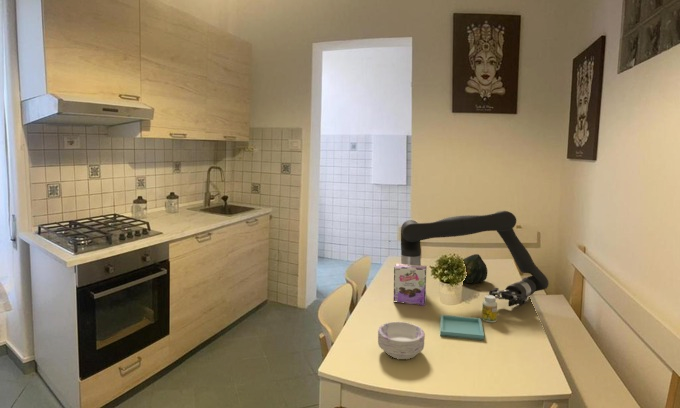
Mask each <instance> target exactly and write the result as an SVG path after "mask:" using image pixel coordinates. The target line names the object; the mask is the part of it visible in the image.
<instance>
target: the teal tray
mask: <svg viewBox="0 0 680 408" xmlns="http://www.w3.org/2000/svg"><path fill="white" fill-rule="evenodd" d="M439 326H440V330H439V331H440V332H439V336H440V337H445V338H446V337H448V338H456V339H466V340H477V341H485V333H484V328H483V323H482V317H481V318H480V317H469V316H460V315H459V316H457V315H447V314H440V325H439Z"/></svg>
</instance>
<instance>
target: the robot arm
mask: <svg viewBox="0 0 680 408" xmlns="http://www.w3.org/2000/svg"><path fill="white" fill-rule="evenodd" d="M516 224H517V218H516V216H515V215H514V214H513V213H512V212H510V211H507V210H499V211H497V212H495V213H490V214H482V215H479V214H478V215H475V214H474V215H470V214H469V215H454V216H447V217H446V218H445V217H444V218H442V219H438V220H435V221H433V222H421V223H420V222H417V221H416V220H413V219H408V220H406V221H404V222H403V223H402V225H401V227H400V255H401V256H400V264H407V265H422V264H421V263H422V261H421V260H422V249H421V248H422V247H421V241H425V240H430V239H435V238H439V239H440V238H452V237H461V236H463V237H464V236H470V235H473V234H478V233H484V232H491V231H493V232H494V231H495V232H497V233H498V235H499V236H500V238H501V239H502V241H503V242H504V244H505V245H506V247H507V249H508V251H509V252H510V255H511V257H512V258H513V260H514V262H515V265H516V267H518V270H519V272H520V273H522V274H530V275H529V276H526V277H523V278H522V279H521V280H520V281H516V282H514V283H512V284H509V285H507V286H506V287H505V289H502V290H500V289H499V287H495V288H493V289H490V290H488V295H492V296H495V299H497V300H506V301H508V303H507V304H508V305H507V306H508V307H513V306H517V305H519V306H520V307H522V306H524V305H525V304H527V303H528V297H530V296H531V295H533V294H534V293H536V292H538V291H544V290H547V289H548V287H549V284H550V283H549V279H548V278H547V276H546V275H545V274H544V273H543V271H541V270H540V269H539V267H538V266H537V265H536V264H535V262H534V261H533V258H532V256H531V254H530V253H529V251H528V249H527V248H526V247H525V246H524V244H523V243H522V241H521V240H520V239H519V238H518V236H517V233H516V231H514V228H515V226H516Z"/></svg>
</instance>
